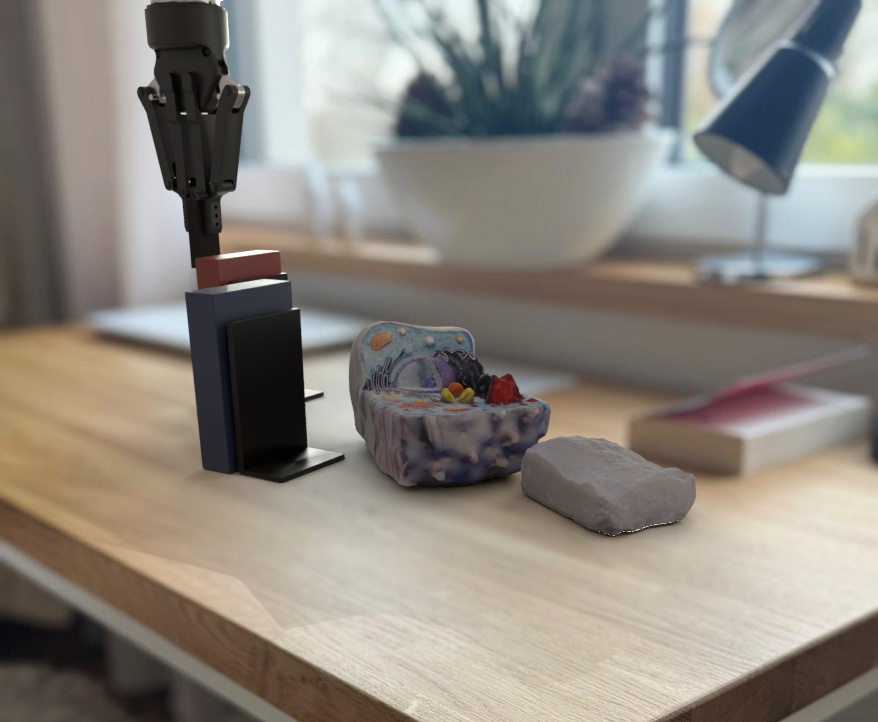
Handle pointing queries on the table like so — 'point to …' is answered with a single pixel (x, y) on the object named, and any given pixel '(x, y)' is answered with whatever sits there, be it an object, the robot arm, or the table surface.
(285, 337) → the black book support
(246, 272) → the maroon book
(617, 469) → the stone block
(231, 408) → the navy book
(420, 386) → the cell model
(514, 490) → the table surface
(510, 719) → the table surface
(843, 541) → the table surface
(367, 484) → the table surface
